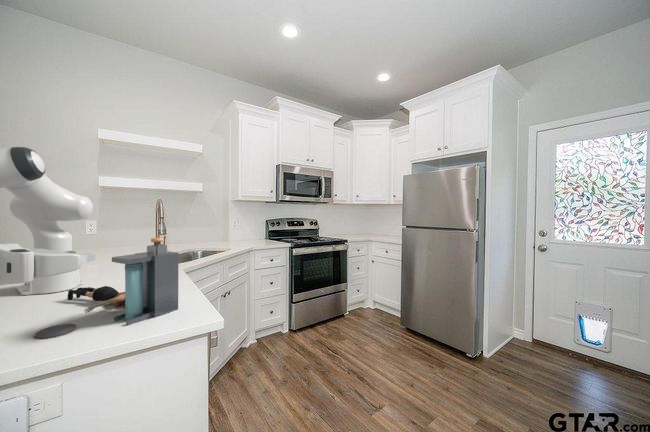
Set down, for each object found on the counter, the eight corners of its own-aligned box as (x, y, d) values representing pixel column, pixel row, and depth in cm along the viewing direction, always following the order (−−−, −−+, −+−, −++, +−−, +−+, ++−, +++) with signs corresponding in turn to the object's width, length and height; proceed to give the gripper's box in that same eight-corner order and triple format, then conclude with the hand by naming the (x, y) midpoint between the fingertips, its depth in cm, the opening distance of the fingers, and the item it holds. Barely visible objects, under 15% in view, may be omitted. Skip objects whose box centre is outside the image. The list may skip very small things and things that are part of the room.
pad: (29, 334, 72) (29, 332, 72) (67, 323, 79) (67, 321, 79) (43, 341, 69) (43, 339, 69) (82, 328, 76) (82, 326, 76)
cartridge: (121, 319, 82) (121, 264, 82) (137, 314, 87) (137, 261, 86) (130, 322, 80) (130, 265, 80) (146, 317, 85) (146, 262, 84)
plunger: (148, 252, 89) (148, 238, 89) (158, 250, 92) (158, 237, 92) (155, 252, 87) (155, 239, 87) (165, 251, 90) (165, 238, 90)
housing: (110, 320, 82) (109, 248, 81) (159, 304, 96) (159, 243, 95) (130, 326, 78) (129, 251, 77) (178, 309, 92) (178, 245, 91)
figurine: (23, 313, 86) (99, 324, 80) (23, 296, 86) (99, 305, 79) (112, 288, 114) (173, 294, 108) (112, 275, 114) (173, 280, 108)
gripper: (-14, 273, 63) (63, 263, 75) (26, 284, 54) (105, 271, 67) (-14, 246, 63) (63, 241, 75) (26, 253, 54) (105, 246, 67)
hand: (83, 255), depth 71 cm, fingers open, 8 cm apart
